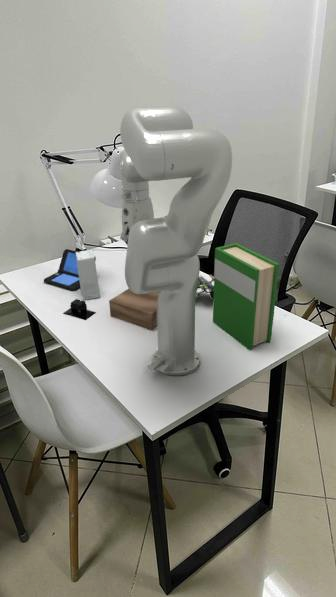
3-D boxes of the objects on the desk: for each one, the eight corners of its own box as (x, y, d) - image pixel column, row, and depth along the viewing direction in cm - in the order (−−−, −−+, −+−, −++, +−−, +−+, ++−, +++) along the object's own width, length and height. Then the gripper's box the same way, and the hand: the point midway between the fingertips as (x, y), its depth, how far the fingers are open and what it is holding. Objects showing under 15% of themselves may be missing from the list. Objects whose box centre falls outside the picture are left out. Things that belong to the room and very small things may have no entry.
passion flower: (211, 313, 147) (230, 294, 138) (185, 317, 141) (203, 297, 132) (198, 285, 151) (215, 265, 142) (173, 288, 145) (189, 267, 136)
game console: (42, 283, 158) (38, 260, 154) (68, 269, 168) (65, 248, 164) (74, 292, 151) (70, 269, 146) (99, 278, 161) (96, 255, 157)
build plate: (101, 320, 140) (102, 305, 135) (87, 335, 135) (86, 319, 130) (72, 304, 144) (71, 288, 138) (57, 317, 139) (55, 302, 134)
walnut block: (152, 331, 128) (151, 314, 125) (110, 317, 135) (109, 300, 133) (180, 309, 139) (180, 292, 136) (141, 297, 147) (140, 281, 144)
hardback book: (270, 342, 121) (279, 263, 109) (249, 350, 117) (256, 270, 106) (232, 315, 134) (236, 243, 123) (212, 322, 131) (215, 248, 120)
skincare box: (100, 298, 146) (96, 257, 139) (82, 300, 145) (77, 259, 138) (97, 287, 153) (93, 248, 146) (80, 290, 152) (75, 250, 145)
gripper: (126, 202, 115) (130, 266, 123) (164, 190, 127) (166, 248, 135) (105, 199, 119) (111, 261, 127) (144, 187, 131) (147, 244, 139)
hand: (139, 254), depth 131 cm, fingers closed on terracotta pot, 5 cm apart
